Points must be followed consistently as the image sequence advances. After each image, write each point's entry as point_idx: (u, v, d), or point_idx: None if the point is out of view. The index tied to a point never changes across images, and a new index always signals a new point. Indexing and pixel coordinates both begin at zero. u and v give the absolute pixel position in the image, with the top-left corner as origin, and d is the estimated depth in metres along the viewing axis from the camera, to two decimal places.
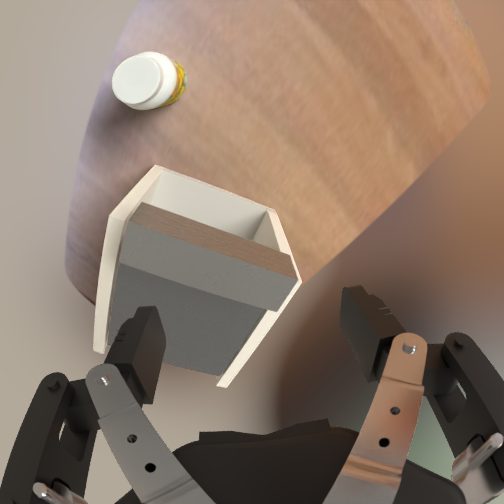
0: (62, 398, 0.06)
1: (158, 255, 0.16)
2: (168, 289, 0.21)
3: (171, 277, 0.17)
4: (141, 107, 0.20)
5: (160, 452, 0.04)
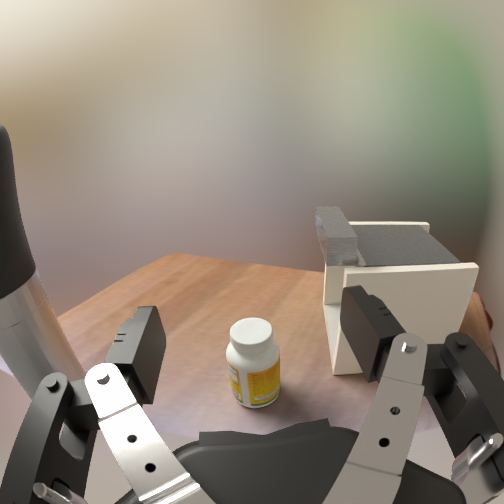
0: (62, 398, 0.06)
1: (338, 229, 0.28)
2: (375, 247, 0.30)
3: (348, 225, 0.29)
4: (276, 343, 0.27)
5: (160, 452, 0.04)
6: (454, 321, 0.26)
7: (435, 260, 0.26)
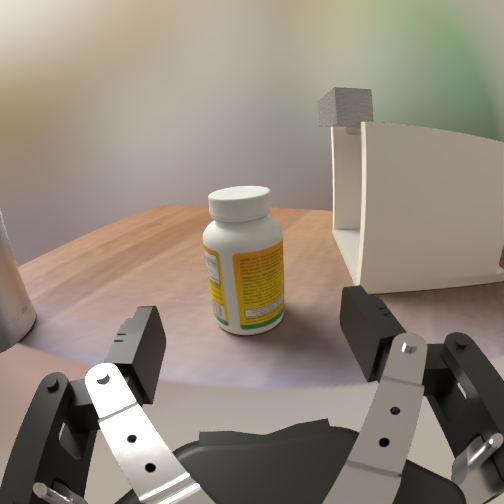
0: (62, 398, 0.06)
1: None
2: None
3: None
4: (276, 221, 0.19)
5: (160, 452, 0.04)
6: (500, 218, 0.18)
7: None
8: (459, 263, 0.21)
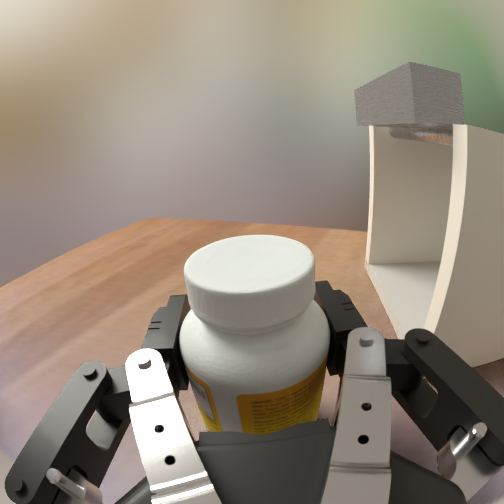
0: (102, 386, 0.07)
1: None
2: None
3: None
4: (318, 306, 0.10)
5: (184, 447, 0.05)
6: None
7: None
8: None
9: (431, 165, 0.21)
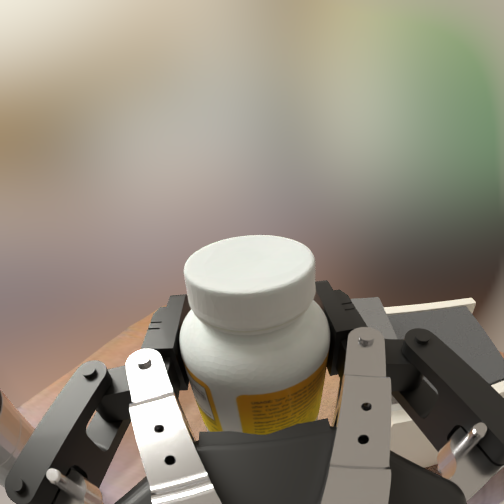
0: (102, 386, 0.07)
1: None
2: None
3: None
4: (318, 306, 0.10)
5: (184, 447, 0.05)
6: None
7: (489, 378, 0.16)
8: None
9: None
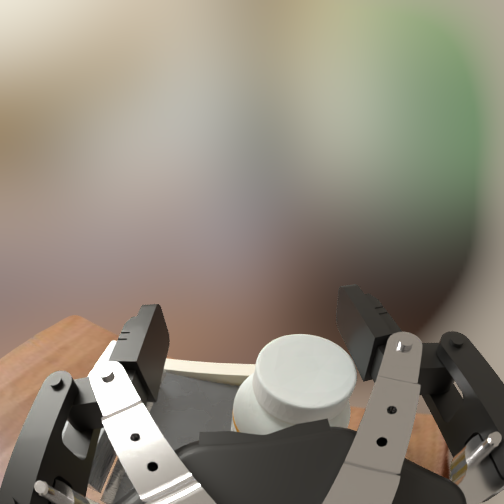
0: (66, 396, 0.06)
1: None
2: None
3: None
4: None
5: (163, 451, 0.05)
6: None
7: None
8: None
9: None
